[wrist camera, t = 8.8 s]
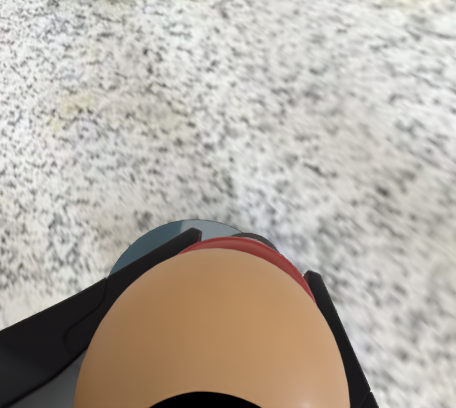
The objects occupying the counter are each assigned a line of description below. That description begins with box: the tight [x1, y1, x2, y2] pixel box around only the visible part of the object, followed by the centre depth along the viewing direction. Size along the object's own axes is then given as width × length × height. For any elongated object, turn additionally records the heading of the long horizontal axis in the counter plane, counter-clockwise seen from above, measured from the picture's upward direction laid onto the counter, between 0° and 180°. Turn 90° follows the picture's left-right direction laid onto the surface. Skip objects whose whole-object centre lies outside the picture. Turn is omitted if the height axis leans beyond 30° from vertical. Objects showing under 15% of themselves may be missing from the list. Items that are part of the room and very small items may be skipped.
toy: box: [73, 233, 350, 408], centre depth 8 cm, size 5×5×14 cm
